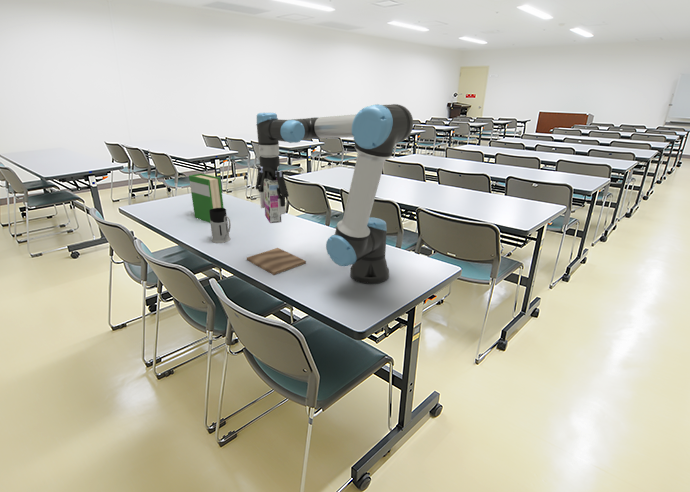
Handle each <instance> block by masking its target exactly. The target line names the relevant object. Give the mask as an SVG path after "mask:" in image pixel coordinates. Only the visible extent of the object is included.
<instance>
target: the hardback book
mask: <svg viewBox="0 0 690 492" xmlns="http://www.w3.org/2000/svg"><path fill="white" fill-rule="evenodd" d="M188 179H189V187H190V191H191V192H190V193H191V199H192V200H191V201H192V208H193V213H194V214H193V215H194V218H195V219H197V218H198V220H200V219H201V221H203V222H207V223H210V213H209V210H210V209H213V208H224V207H225V206H224V200H223V192H222V184H221V183H222V182H221V177H219V176H214V175H209V174H204V173H196V174H192V175H191V174H190V175H188ZM210 224H211V223H210Z"/></svg>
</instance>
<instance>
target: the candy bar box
mask: <svg viewBox="0 0 690 492" xmlns="http://www.w3.org/2000/svg"><path fill="white" fill-rule="evenodd" d="M277 188H279V185H278V182H277V180H275V181H271V180H270V179H266V178H265V179H264V188H263V189H264V205H265V208H264V216H265V218H266V219H267V221H268V223H270V224H277V223H282V215H279V213H278V197H279V196H278V194H277Z"/></svg>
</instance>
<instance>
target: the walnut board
mask: <svg viewBox="0 0 690 492" xmlns="http://www.w3.org/2000/svg"><path fill="white" fill-rule="evenodd" d="M246 261H248V262H249V263H251V264H253V265H254V266H257V267H259V268H260V269H262V270H264V271H266V272H267V273H269V274H272V275H273V276H275V275H277V274H281V273H284V272H286V271H288V270H292V269H294V268H297V267H300V266H302V265H306V263H307V261H306V260H305V259H303V258H300V257H298V256H296V255H294V254H292V253H290V252H288V251H285V250H284V249H281V248H279V247H276V248H272V249H269V250H267V251H264V252H259V253H256V254H254V255H250V256H248V257H247V256H246Z"/></svg>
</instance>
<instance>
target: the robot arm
mask: <svg viewBox="0 0 690 492" xmlns="http://www.w3.org/2000/svg"><path fill="white" fill-rule="evenodd" d="M255 126H256V133H257V143H258V155H259V166H258V167H257V177H256V183H255V189H256V190H257V192H258V193H259V202H260V208H261V209H265V205H264V189H263V188H264V179H265V178H266V179H270V180H271V181H275V180H277V182H278V185H279V188H277V194H278V196H279V197H278V213H279V215H281V216H282V215H285V214H286V198H288V197H289V191H288V187H287V183H286V180H285V177H284V176H285V175H284V171H283V170H280V171H279V169H278V167H280V166H281V163H280V162H281V161H280V156H279V155H280V143H279V142H284V143H285V142H286V143H290V144H292V143H294V144H295V143H300V142H301V141H304V140H305V141H306V140H314V139H316V140H317V139H333V138H334V139H337V138H353V141H354V142H355V143H354V149H355V150H356V153H357V157H356V161H355V164H354V165H355V166H354V169H353V174H352V179H351V181H350V188H349V190H348V191H349V192H348V195H347V200H346V205H345V209H344V212H343V218H342V219H340V220H339V221H338V222H337V223H336V228H335V232H334V234H333V235H331V236H330V237H328V238H327V240H326V243H325V246H326V247H325V248H326V252H327V255H328V256H329V258H330V259H331V260H332V262H334V264H336V265H338V266H340V267H348V266H351V267H350V269H349V270H350V273H349V274H350V278H351V279H352V280H353V281H355V282H359V283H361V284H367V285H368V284H370V285H371V284H372V285H373V284H375V285H376V284H379V283H383V282H385V281H387V280H388V279H389V278H390V269H389V267H388V262H387V259H386V250H387V249H386V248H387V247H386V246H387V232H388V230H387V229H388V228H387V222H386V221H385V220H384V219H381V218H379V217H374V216H373V217H371V214H372V209H373V206H374V202H375V198H376V195H377V192H378V188H379V184H380V180H381V176H382V174H383V170H384V166H385V165H384V164H385V162H386V160H387V159H389V158H391V157H392V155H393V152H394V147H395V145H396V144H398V143H401V142H403V141H405V140H406V139H407V138H409V137H410V135H411V133H412V131H413V128H414V118H413V115H412V113H411V112H410V110H409V109H408V108H407V107H406V106H404V105H402V104H397V103H393V104H378V103H377V104H373V105H369V106H365V107H362V108H361V109H360V110H359V111H358V112H357V113H355V114H344V115H342V114H341V115H333V116H320V117H309V118H308V117H307V118H296V119H295V118H294V119H293V118H292V119H279V118H278V115H277V113H276V112H259V113H257V115H256V125H255Z"/></svg>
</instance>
